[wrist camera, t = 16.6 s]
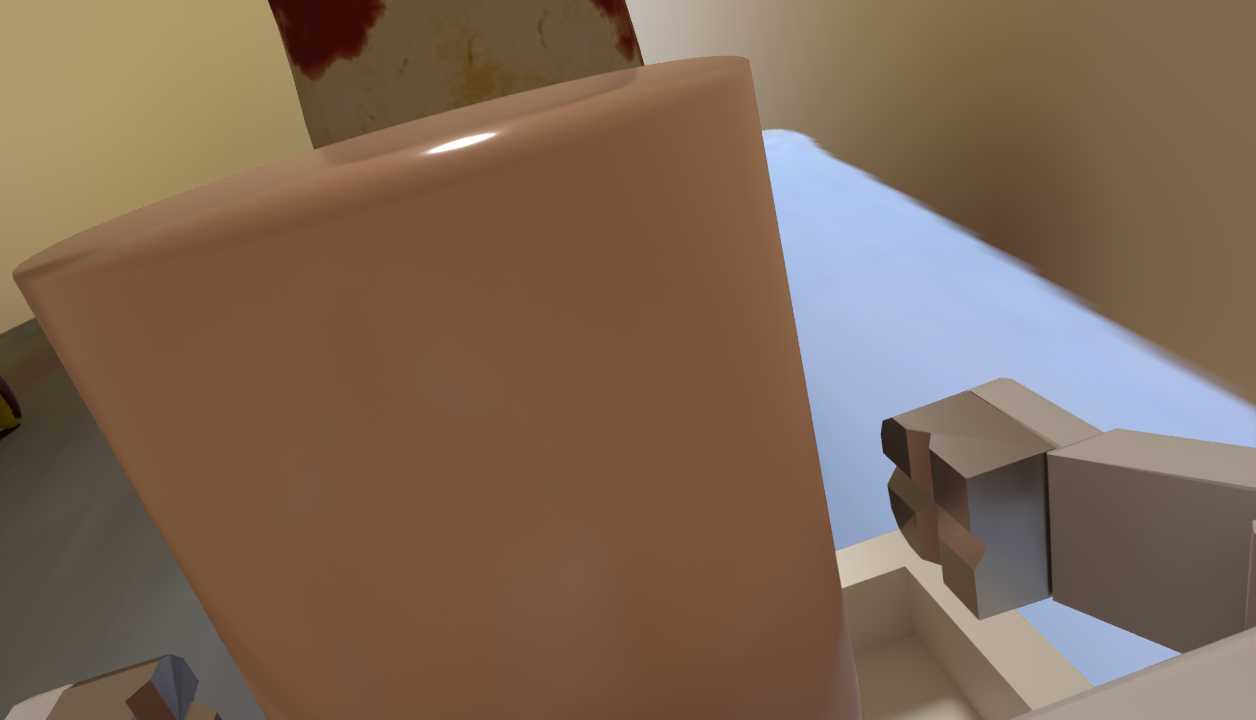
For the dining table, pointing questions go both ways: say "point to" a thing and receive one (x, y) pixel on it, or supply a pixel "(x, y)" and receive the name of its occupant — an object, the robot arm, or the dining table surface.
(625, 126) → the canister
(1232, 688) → the robot arm
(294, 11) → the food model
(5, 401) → the decorative lantern
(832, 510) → the dining table surface
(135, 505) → the dining table surface
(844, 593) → the bin
